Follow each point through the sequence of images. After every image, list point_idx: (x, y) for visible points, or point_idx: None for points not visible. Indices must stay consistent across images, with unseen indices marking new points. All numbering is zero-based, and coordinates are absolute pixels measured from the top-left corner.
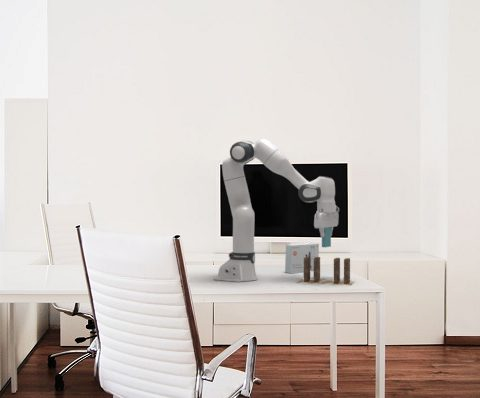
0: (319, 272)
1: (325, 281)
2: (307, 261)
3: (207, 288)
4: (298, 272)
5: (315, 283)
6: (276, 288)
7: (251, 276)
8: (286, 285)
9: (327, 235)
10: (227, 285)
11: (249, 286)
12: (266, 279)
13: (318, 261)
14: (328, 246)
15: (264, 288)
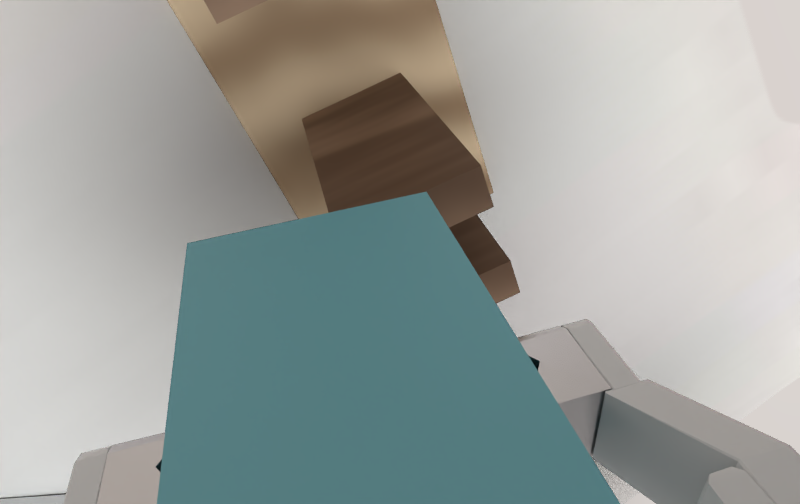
0: (341, 137)
1: (290, 63)
2: (495, 241)
3: (782, 359)
4: (50, 496)
5: (447, 59)
6: (692, 163)
7: None
8: (562, 199)
9: (393, 381)
10: (685, 371)
11: (678, 300)
12: None
13: (416, 169)
14: (297, 222)
15: (714, 210)
